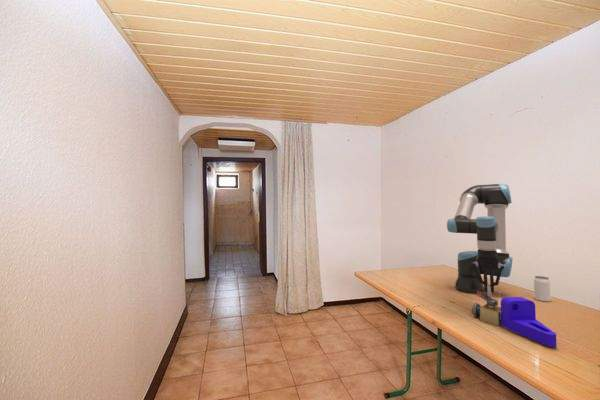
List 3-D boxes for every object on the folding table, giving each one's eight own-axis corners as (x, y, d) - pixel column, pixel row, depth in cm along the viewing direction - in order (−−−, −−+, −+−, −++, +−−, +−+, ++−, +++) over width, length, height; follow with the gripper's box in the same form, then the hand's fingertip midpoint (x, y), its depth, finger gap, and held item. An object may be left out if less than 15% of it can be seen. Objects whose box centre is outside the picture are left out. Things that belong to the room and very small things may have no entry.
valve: (471, 318, 124) (471, 302, 124) (478, 314, 127) (478, 298, 128) (508, 329, 112) (507, 311, 112) (515, 325, 116) (514, 308, 116)
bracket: (501, 325, 115) (500, 297, 115) (526, 324, 115) (525, 296, 115) (539, 347, 97) (538, 314, 97) (569, 346, 97) (568, 313, 97)
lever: (499, 306, 117) (499, 302, 117) (489, 305, 118) (489, 301, 118) (484, 294, 132) (484, 291, 132) (475, 294, 133) (474, 290, 133)
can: (553, 302, 142) (553, 279, 142) (539, 301, 143) (538, 278, 143) (545, 298, 148) (544, 276, 148) (531, 297, 149) (531, 275, 150)
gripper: (504, 248, 127) (507, 299, 126) (472, 247, 135) (474, 294, 134) (503, 251, 121) (506, 304, 120) (470, 249, 129) (472, 299, 128)
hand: (489, 299), depth 127 cm, fingers closed
